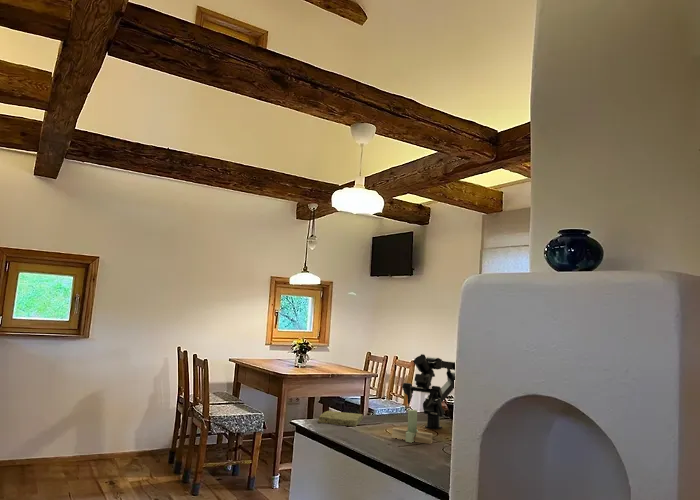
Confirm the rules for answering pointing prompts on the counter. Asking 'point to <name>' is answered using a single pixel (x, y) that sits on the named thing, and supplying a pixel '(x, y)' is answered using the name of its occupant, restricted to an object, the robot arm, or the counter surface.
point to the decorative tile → (340, 418)
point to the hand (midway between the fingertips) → (417, 404)
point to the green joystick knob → (411, 426)
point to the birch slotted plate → (419, 437)
